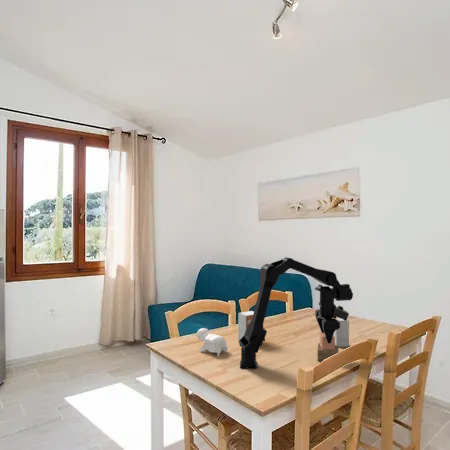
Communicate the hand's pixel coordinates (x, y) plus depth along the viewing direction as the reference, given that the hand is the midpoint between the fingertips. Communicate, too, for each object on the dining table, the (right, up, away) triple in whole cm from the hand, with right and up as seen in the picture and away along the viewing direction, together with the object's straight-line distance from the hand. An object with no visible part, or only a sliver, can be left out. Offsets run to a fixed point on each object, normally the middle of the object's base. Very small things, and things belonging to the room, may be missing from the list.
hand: (326, 339), depth 139 cm
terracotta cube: (0, -3, 0) cm, 3 cm away
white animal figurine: (-48, -8, +8) cm, 49 cm away
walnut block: (0, -8, -1) cm, 8 cm away
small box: (-31, -8, +21) cm, 38 cm away
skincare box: (+11, -8, +15) cm, 21 cm away
